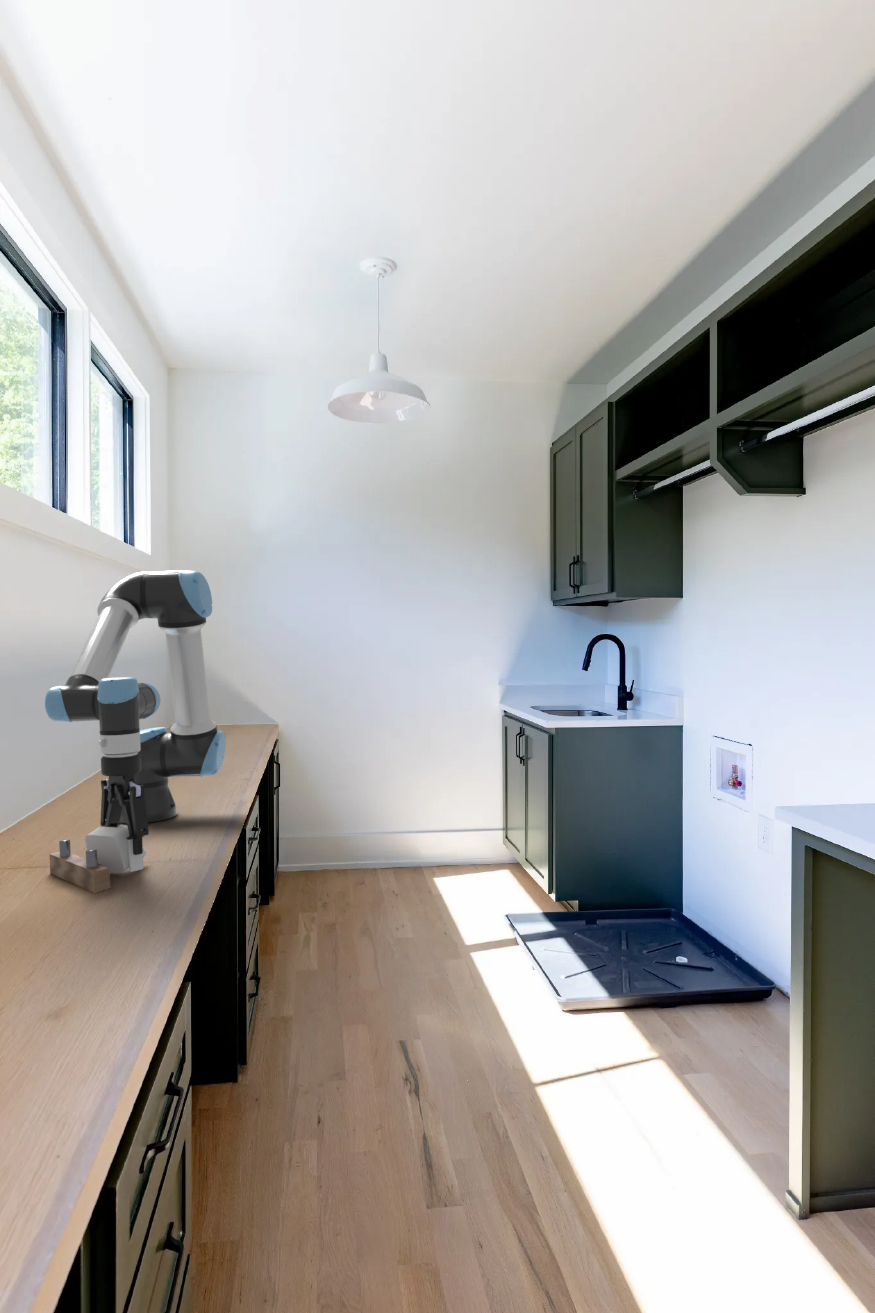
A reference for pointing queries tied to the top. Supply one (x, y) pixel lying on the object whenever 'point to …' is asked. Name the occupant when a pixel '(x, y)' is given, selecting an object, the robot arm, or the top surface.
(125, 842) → the white knobbed block
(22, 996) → the top surface
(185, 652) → the robot arm
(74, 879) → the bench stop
